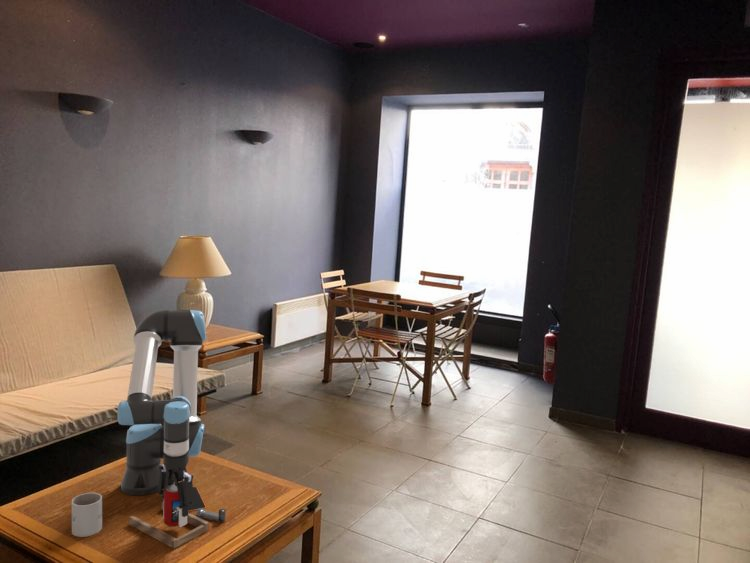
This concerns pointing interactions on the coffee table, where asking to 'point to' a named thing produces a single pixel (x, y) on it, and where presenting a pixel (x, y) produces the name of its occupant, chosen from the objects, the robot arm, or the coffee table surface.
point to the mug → (86, 514)
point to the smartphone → (196, 501)
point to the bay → (166, 538)
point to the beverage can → (171, 506)
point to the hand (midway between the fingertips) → (175, 521)
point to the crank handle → (211, 514)
